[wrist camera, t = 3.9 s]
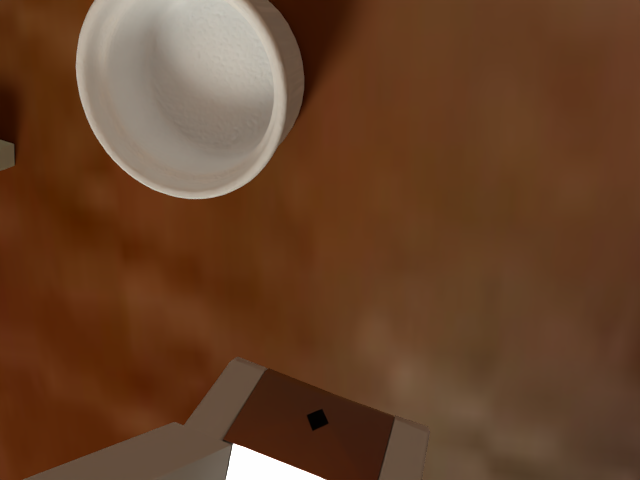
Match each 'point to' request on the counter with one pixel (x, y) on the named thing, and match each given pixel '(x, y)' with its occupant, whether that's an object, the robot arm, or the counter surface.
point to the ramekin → (189, 89)
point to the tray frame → (6, 155)
